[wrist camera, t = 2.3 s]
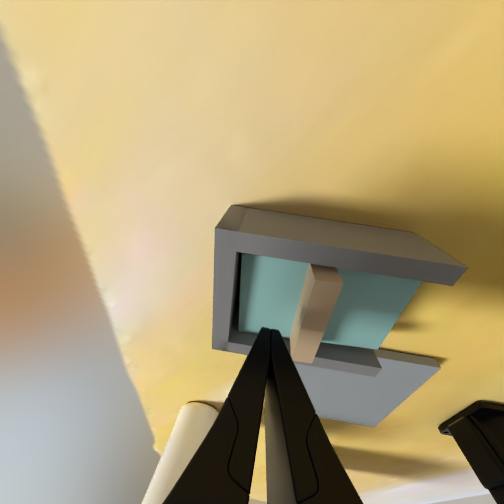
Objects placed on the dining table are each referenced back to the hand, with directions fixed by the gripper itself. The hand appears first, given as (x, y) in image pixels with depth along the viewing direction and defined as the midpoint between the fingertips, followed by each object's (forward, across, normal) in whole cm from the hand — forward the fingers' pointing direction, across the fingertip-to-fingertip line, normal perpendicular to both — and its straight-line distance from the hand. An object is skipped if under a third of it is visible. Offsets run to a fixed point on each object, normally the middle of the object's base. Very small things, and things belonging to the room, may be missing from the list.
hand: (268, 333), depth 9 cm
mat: (+5, -9, +12) cm, 16 cm away
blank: (+5, -3, 0) cm, 6 cm away
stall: (+5, -3, 0) cm, 6 cm away
